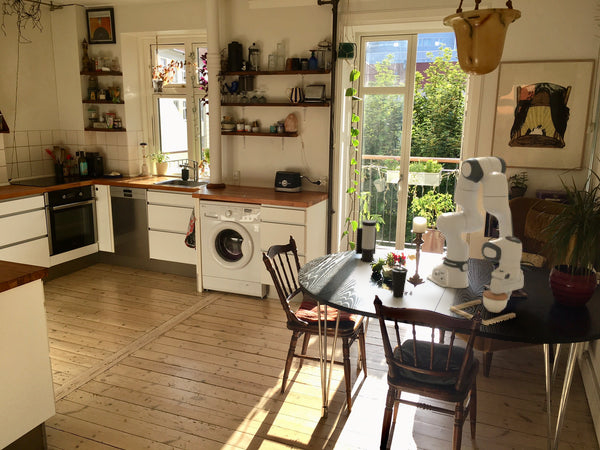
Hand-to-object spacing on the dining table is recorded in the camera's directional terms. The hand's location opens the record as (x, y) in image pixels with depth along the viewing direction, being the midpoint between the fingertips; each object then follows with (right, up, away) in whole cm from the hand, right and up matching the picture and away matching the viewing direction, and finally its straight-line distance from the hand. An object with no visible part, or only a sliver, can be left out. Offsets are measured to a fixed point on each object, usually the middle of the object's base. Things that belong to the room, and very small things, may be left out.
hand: (505, 299), depth 230 cm
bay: (-14, -5, -7) cm, 16 cm away
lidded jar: (-7, -4, -3) cm, 9 cm away
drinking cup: (-48, 0, +13) cm, 50 cm away
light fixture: (-55, +13, +72) cm, 92 cm away
